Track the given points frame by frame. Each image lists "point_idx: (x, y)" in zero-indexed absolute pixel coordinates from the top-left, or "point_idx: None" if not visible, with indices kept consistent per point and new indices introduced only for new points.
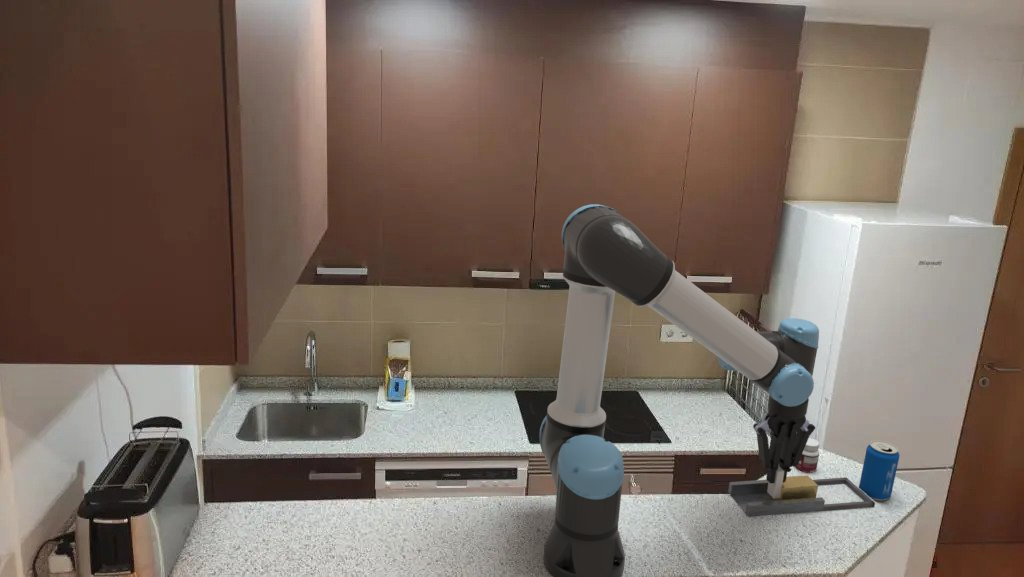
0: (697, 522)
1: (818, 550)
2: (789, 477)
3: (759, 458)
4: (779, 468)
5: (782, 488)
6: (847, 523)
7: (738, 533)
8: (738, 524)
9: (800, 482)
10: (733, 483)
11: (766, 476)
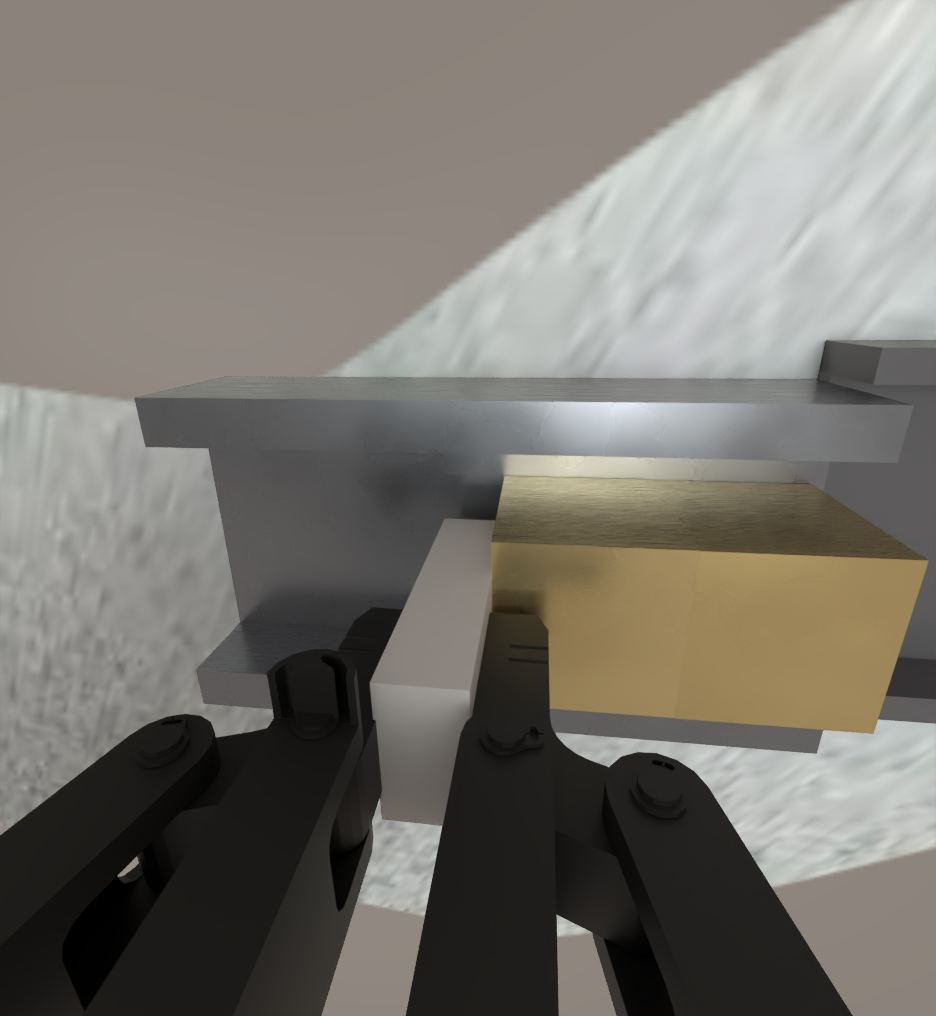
0: (6, 577)
1: None
2: (669, 568)
3: (81, 776)
4: (438, 773)
5: None
6: (873, 733)
7: (195, 688)
8: (217, 628)
9: (725, 661)
10: (165, 421)
11: (350, 628)
